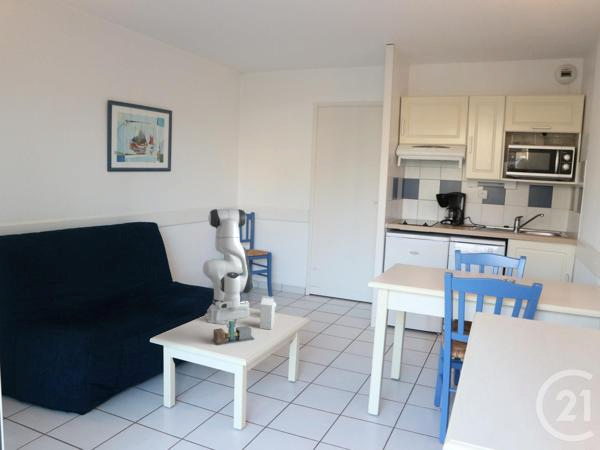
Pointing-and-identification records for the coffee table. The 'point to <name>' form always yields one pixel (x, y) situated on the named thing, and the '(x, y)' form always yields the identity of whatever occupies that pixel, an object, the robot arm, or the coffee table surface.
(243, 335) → the grey base plate
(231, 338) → the rod
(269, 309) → the milk carton
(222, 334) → the socket
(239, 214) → the robot arm
